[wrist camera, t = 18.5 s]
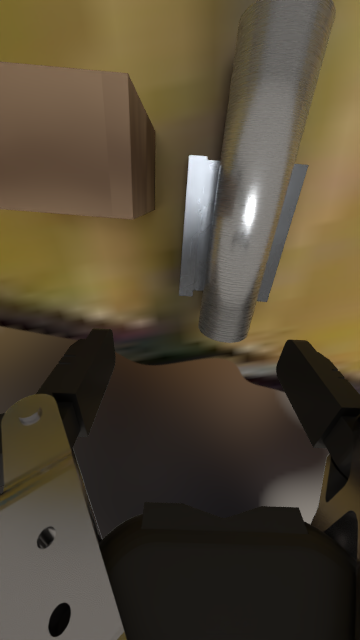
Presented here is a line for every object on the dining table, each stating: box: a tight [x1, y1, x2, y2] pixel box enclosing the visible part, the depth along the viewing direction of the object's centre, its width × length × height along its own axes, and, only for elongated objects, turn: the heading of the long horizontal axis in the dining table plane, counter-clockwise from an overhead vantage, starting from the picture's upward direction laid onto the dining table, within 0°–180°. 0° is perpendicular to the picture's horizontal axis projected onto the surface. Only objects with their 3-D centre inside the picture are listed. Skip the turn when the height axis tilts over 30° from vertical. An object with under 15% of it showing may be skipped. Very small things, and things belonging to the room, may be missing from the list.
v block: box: [179, 155, 308, 302], centre depth 18 cm, size 10×8×2 cm
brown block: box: [0, 62, 155, 219], centre depth 13 cm, size 5×8×8 cm, turn 86°
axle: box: [198, 0, 336, 343], centre depth 15 cm, size 18×4×4 cm, turn 176°
